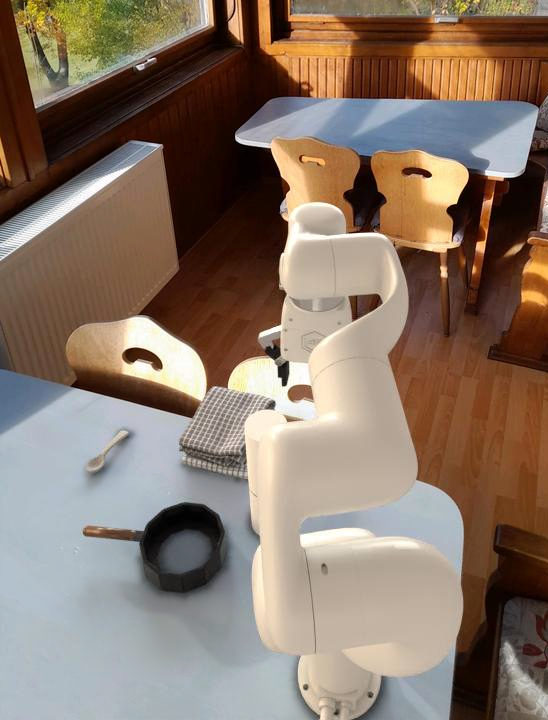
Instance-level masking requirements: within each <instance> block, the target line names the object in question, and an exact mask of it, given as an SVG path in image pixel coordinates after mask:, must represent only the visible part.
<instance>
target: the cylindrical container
mask: <svg viewBox="0 0 548 720" xmlns="http://www.w3.org/2000/svg"><path fill="white" fill-rule="evenodd" d="M274 410H275V409H274ZM274 410H260V411H257V412H255V413H253V414H252V415H250V416H249V417H248V418H247V420H246V422H245V425H244V429H245V442H246V455H247V468H248V479H247V480H248V492H249V505H250V506H249V507H250V517H251V518H250V519H251V527H252V529H253V531H254V533H256V535H257V536H259V537H260V531H259V517H258V501H257V455H258V448H259V443H260V440H261V437H262V435H263V433H264V432H265V430H266V429H267V428H268V427H270V426H272V425H274V424H278V423H285V422H288V420H287V418H286V417H285V415H284V414H283V413H281V412H280V411H277V410H275V411H274Z"/></svg>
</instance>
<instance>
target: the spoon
mask: <svg viewBox="0 0 548 720" xmlns="http://www.w3.org/2000/svg"><path fill="white" fill-rule="evenodd" d="M129 435H130V433H129V431H127V430H125V429H124V430H120V431H119V432H118V433H117V434H116V435H115V436H114V438H113V439H111V441H109V442H108V444H107V445H106V447H104V449H103V450H102V451H101V453H100V454H99V455H97V456H96V457H94V458H92V459H90V460H89V462H88V463H87V464H86V469H85V470H86V472H87V473H89V474H95V473H97V472H100V471H101V470H102V469H103V467H104V465H105V458H106V456H107V455H108V454H109V453H110V451H111V450H112V448H115V446H116V445H117V444H119V443H120V442H121V441H123V440H124V439H125V438H127V437H128V436H129Z"/></svg>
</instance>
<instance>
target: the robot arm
mask: <svg viewBox="0 0 548 720" xmlns="http://www.w3.org/2000/svg"><path fill="white" fill-rule="evenodd" d="M287 225H288V226H287V227H288V229H287V230H288V233H287V239H286V243H285V247H284V250H283V252H282V253H281V254H280V258H279V267H278V275H279V283H278V285H279V286H278V287H279V288H278V289H279V290H281V291H285V292H284V293H286V296H284V297H285V298H284V299H283V305H282V309H281V321H280V325H277V326H275V327H272V328H270V329H269V328H268V329H266V330H264V331H261V332H259V333H258V337H257V342H258V344H259V345H260V346H261V348H262V349H263V350H264V353H265V354H266V355H267V356H268V357H269V358H270V359H272V360H273V361H274V365H275V366H277V368H276V369H277V379H281V387H284V388H285V387H288V383H289V377H290V363H298V364H307V370H308V371H307V372H308V377H309V383H310V389H311V393H312V398H313V403H314V410H315V415H316V418H313V419H312V418H311V419H303V420H296V421H295V420H293V421H287V422H285V423H278V424H274V425H272V426H270V427H268V428H267V429H266V430H265V432H264V433H263V435H262V437H261V440H260V443H259V448H258V455H257V501H258V517H259V531H260V536H259V542H260V544H259V545H258V547H257V548H256V549H255V550H256V551H255V552H254V555H253V559H252V565H251V589H252V603H253V613H254V619H255V624H256V628H257V632H258V635H259V638H260V639H261V642H262V643H263V645H264V646H265V648H267V649H268V650H269V651H271V652H273V653H277V654H286V655H290V656H298V657H300V658H299V661H298V667H297V680H298V687H299V690H300V693H301V694H300V695H301V696H302V698H303V700H304V701H305V703H306V704H307V706H308V707H309V708H310V709H311V710H312V711H313V712H315V714H317V715H318V716H319V720H355V719H357V718H359V717H360V716H363V715H364V714H366V713H367V712H368V710H369V709H370V708H371V707H372V706H373V704H374V703H375V702H376V699H378V698H377V697H378V695H379V693H380V689H381V684H382V676H383V677H388V678H389V677H390V678H406V677H413V676H417V675H418V676H419V675H421V674H423V673H425V672H428V671H430V670H432V669H433V668H435V667H436V666H438V665H439V664H440V663H441V662H442V661H443V660H444V659H445V658H446V657H447V656H448V654H449V653H450V651H451V650H452V648H453V646H454V645H455V642H456V641H457V637H458V635H459V632H460V630H461V625H462V620H463V616H464V615H463V614H464V596H463V595H464V594H463V588H462V584H461V581H460V578H459V575H458V572H457V571H456V569H455V567H454V565H453V563H452V562H451V561H450V559H449V558H448V556H446V554H444V553H443V552H442V551H441V550H439V549H438V548H437V547H436V546H434V545H432V544H429V543H428V542H425V541H423V540H421V539H417V538H411V537H409V536H397V535H396V536H395V535H392V536H379V537H377V535H376V534H375V533H373V532H372V531H370V530H368V529H365V528H361V527H343V528H342V527H341V528H333V529H326V530H319V531H313V532H307V533H301V531H302V526H303V523H304V522H305V520H307V519H311V518H318V517H324V516H325V517H326V516H331V515H333V516H334V515H339V514H345V513H346V514H347V513H352V512H353V513H354V512H361V511H366V510H372V509H376V508H380V507H381V508H382V507H385V506H387V505H390V504H392V503H394V502H397V501H399V500H400V499H402V498H403V497H405V496H406V495H407V494H408V493H409V492H410V491H411V490H412V488H413V487H414V485H415V484H416V481H417V478H418V474H419V473H418V472H419V471H418V470H419V465H418V464H419V462H418V458H417V457H418V456H417V453H416V449H415V445H414V443H413V439H412V436H411V431H410V427H409V425H408V421H407V417H406V415H405V411H404V406H403V403H402V401H401V400H402V399H401V397H400V393H399V389H398V386H397V382H396V379H395V376H394V372H393V369H392V365H391V361H390V357H389V354H390V353H391V351H392V350H393V348H394V347H395V346H396V344H397V343H398V341H399V339H400V337H401V335H402V333H403V332H404V328H405V327H406V323H407V319H408V316H409V315H408V314H409V300H410V299H409V289H408V283H407V279H406V276H405V272H404V269H403V267H402V264H401V261H400V258H399V255H398V253H397V250H396V248H395V246H394V244H393V242H392V241H391V240H390V239H389V238H388V237H387V236H385V235H384V234H381V233H377V232H359V233H358V232H357V233H347V220H346V216H345V215H344V212H343V211H342V210H341V209H340V208H339V207H337V206H335V205H333V204H330V203H326V202H307V203H304V204H301V205H298V207H296V208H294V209H293V210H292V212H291V213H290V215H289V218H288V224H287ZM364 295H366V296H367V295H378V296H379V297H380V299H381V301H382V304H381V305H379V306H378V307H377V308H375V309H374V310H372V311H370V312H369V313H367V314H364V315H363V316H361V317H359V318H357V319H355V320H354V321H353V313H352V308H351V302H350V298H349V296H351V297H352V296H364ZM279 339H280V346H278V345H277V344H276V343H275V342H273V341H275V340H279Z"/></svg>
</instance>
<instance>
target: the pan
mask: <svg viewBox="0 0 548 720" xmlns="http://www.w3.org/2000/svg"><path fill="white" fill-rule="evenodd" d="M224 527H225V526H224V524H223V521H222V519H221V516H220V514H219V513H217V512H216V511H215V510H213V509H212V508H210V507H209V506H208V505H206V504H204V503H198V502H187V501H182V502H179V503H177V504H173V505H171V506H168V507H165V508H162V509H161V510H160V511H159V512H158V513H157V514H156V515H154V516H153V518H151V519H150V520H149V521H148V522H147V523H146V524H145V527H144V529H143V530H138V529H137V530H136V529H127V528H117V527H108V526H99V525H98V526H97V525H85V526H84V527H83V529H82V535H83V536H84V537H88V538H97V539H106V540H116V541H126V542H134V543H139V544H138V546H139V550H140V554H141V560H142V564H143V567H144V572H145V573H144V574H145V577H146V579H148V580H149V581H150V582H151V583H152V584H153V585H154V586H156V587H157V588H158V589H159V590H160V591H163V592H171V593H179V594H181V593H182V594H185V593H189V592H190V591H193V590H195V589H198V588H200V587H203V586H205V585H206V584H208V583H209V582H210V581H211V580H212V578H213V577H215V576H216V574H217V573H218V572H219V571H220V570H221V569H222V567H223V564H224V560H225V556H226V554H227V553H226V552H227V549H228V548H227V537H226V530H225V528H224ZM183 531H194V532H199V533H201V534H202V535H203V536H205V537H206V538H208V541H209V544H210V548H211V552H210V556H209V558H208V559H207V560H206V561H205V562H204V563H203V564H202V565H201V566H198V567H196V568H193V569H190V570H188V571H184V572H182V573H176V572H167V571H164V570H163V569H162V568H161V565H160V561H159V558H158V557H159V554H160V551H161V549H162V545H163V544H164V543H166V542H167V540H168V539H170V538H171V536H173V535H175V534H177V533H180V532H183Z"/></svg>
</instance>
